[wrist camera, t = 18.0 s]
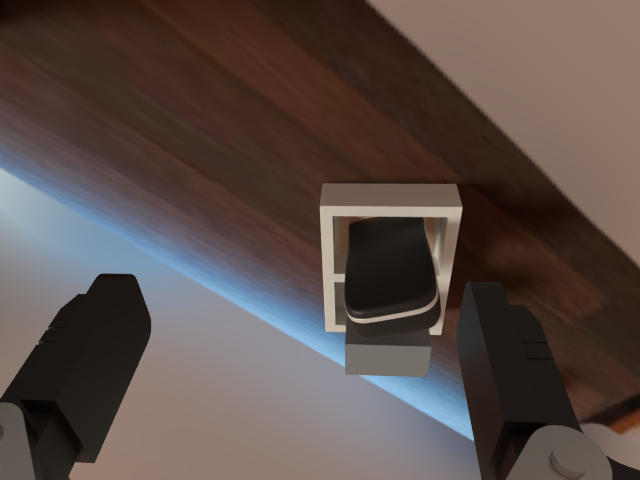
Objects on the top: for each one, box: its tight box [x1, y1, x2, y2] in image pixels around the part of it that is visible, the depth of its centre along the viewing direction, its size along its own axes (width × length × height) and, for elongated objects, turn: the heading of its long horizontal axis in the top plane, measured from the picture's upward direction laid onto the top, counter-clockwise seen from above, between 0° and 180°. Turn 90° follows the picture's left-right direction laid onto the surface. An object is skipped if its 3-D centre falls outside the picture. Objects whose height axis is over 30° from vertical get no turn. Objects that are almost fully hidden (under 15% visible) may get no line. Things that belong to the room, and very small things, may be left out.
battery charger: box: [344, 217, 441, 339], centre depth 39 cm, size 7×4×11 cm, turn 109°
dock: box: [320, 183, 463, 377], centre depth 43 cm, size 11×15×10 cm
